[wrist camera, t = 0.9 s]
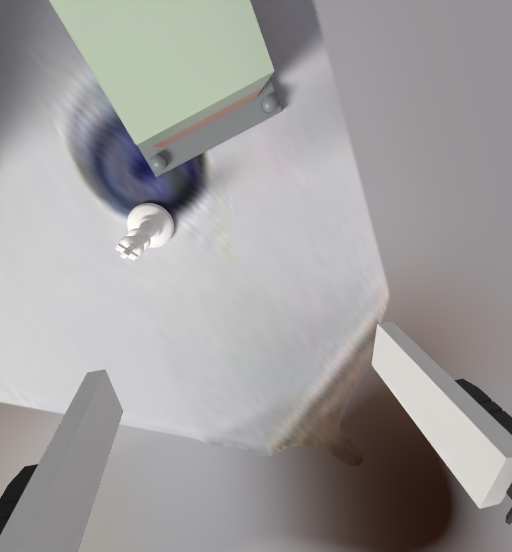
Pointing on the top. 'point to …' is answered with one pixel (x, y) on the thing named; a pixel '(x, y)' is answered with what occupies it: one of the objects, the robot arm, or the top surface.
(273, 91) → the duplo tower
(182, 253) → the top surface
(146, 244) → the chess piece
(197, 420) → the top surface
